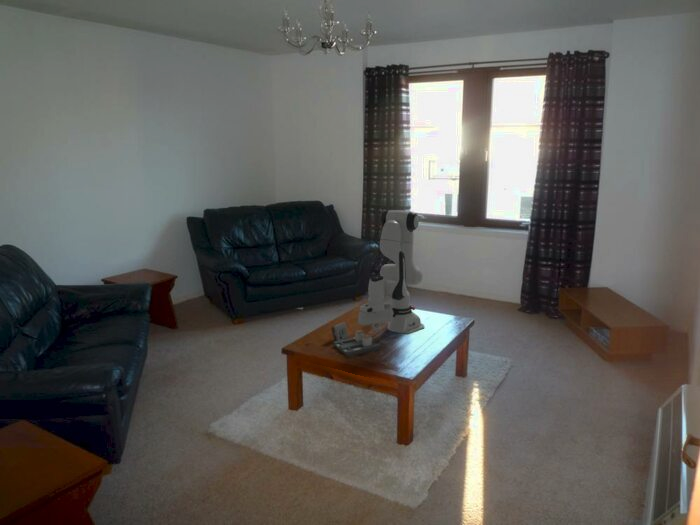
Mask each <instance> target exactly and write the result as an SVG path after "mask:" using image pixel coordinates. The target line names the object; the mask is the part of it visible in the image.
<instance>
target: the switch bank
mask: <svg viewBox="0 0 700 525" xmlns="http://www.w3.org/2000/svg"><path fill="white" fill-rule="evenodd" d="M333 347H334V348H336V349H338V350H339V351H340V352H341V353H342V354H344V355H345V356H347V357H352V356H357V355H361V354H367V353H370V352H374V351H379V350H381V347H382V346H381V344H380V343H376V341H375V340H374V339H372V345H370V346H365V347H364V346H363V340H362V341H355V336H354V337H350V338H349V337H348V338H347V339H345V340H340V341H333Z"/></svg>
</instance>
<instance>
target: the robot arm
mask: <svg viewBox="0 0 700 525" xmlns="http://www.w3.org/2000/svg"><path fill="white" fill-rule="evenodd" d="M379 219H380V220H379V222H380V225H381V227H382V230H381V235H380V240H379V250H380V252H381V253H382V255H383V256H384V257H385V258H388V259H389V260H391V261H393V263H387V264H384V265H381V268H380V271H379V275H372V276H371V277H370V278H369V281H368V287H367V288H368V291H367V294H368V299H367V302H366V303H364V304H361V305H360V306H359V312H358V317H357V323H358V325H360V326H361V327H363V326H370V327H371V331H372V332H378V331H379V328H380V326H381V323H388V326H387V329H388V331H390V332H393V333H398V334H401V333H402V334H412V333H414V332H416V331H419V330H420V331H421V330H423V329H425V328H426V327H425V325H424V323H422V321H421V317H420V316H419V315H417V314H416V313H415V312H413V311H415V310H416V306H413V305H410V303H411V302H410V300H411V298H410V297H411V295H410V292H409V290H408V288H407V286H418V285H420V283H422V281H423V276H424V275H423V271H422V269H420V268H419V266H418V265H417V264H416V262H415V260H414V255H413V254H414V252H413V251H414V231H415V230H416V229H417V228H418V226H419V222H420V218H419V215H418V214H417V212H414V211H409V210H402V209H399V210H395V209H394V210H391V209H387V210H384V211H383V212H382V213H381V214H380V218H379ZM385 298H386V299H390V304H389V303H388V304H385Z"/></svg>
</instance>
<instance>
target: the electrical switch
mask: <svg viewBox="0 0 700 525" xmlns="http://www.w3.org/2000/svg"><path fill="white" fill-rule="evenodd" d="M347 327H348V326H347V324H346V322H345V321H343V322H340V323H338V324H336V325H334V326H331V328H330V329H331V333H332V336H333V340H334V341H333V342H335V341H340V340H345V339H349V332H348V328H347Z"/></svg>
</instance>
